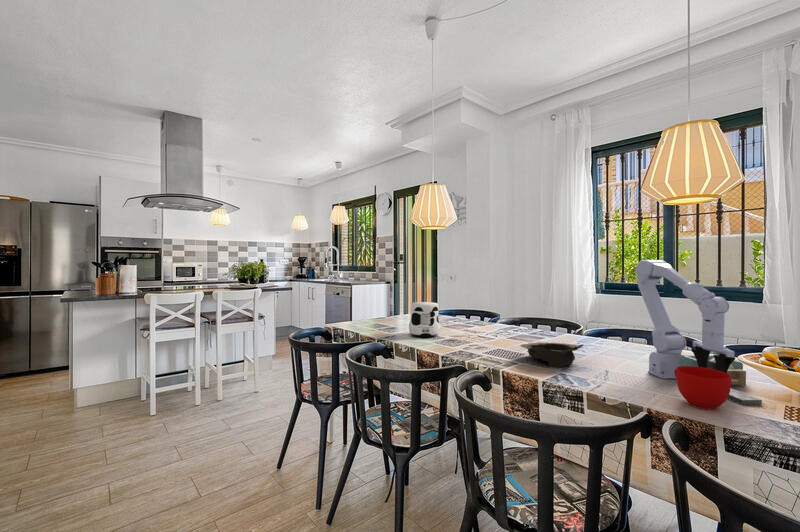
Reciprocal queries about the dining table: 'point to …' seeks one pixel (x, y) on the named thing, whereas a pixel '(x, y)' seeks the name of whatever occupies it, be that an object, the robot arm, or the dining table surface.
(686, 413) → the dining table surface
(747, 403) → the rail
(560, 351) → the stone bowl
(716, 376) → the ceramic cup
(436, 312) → the milk container
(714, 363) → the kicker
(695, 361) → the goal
